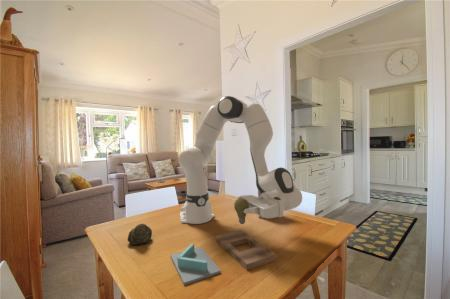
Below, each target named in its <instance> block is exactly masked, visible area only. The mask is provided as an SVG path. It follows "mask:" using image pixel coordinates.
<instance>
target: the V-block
mask: <svg viewBox="0 0 450 299" xmlns="http://www.w3.org/2000/svg"><path fill="white" fill-rule="evenodd" d="M202 247H203V246H198V247H195V243H190V244H189V245H188V246H187V247H186V248H185V249H184V250H183V251H180V252H176V253H175V252H174V253H172V254H169V255H170V256H169V257H170V259H171V261H172V263H173V265H174V267H175V269H176V272H177V274H178V276H179V278H180V279H181V281H182V284H183V286H186V285H189V284H190V285H191V284H192V283H195V282H198V281H201V280H203V279H207V278H210V277H213V276H215V275H218V274H221V273H222V271H221V269H220V268H219V266H218V265H217V264H216V263H215V262H214V261H213V259H212V258H211V257H210V256H209V255H208V253H207V251H205V249H204V248H202Z"/></svg>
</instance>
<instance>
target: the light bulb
mask: <svg viewBox="0 0 450 299" xmlns="http://www.w3.org/2000/svg"><path fill="white" fill-rule="evenodd" d="M233 207H234V210H235V212H236V214H237V217H238V223H239V224H241V225H244V224H245V223H246V216H247V214H245V213H244V212H243V209H244V208H249V203H248V201H247V200H246V199H244V198H239V199H238V198H237V199H236V200H235V202H234V205H233Z"/></svg>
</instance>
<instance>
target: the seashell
mask: <svg viewBox="0 0 450 299" xmlns="http://www.w3.org/2000/svg"><path fill="white" fill-rule="evenodd" d="M152 236H153V230H152V229H151V227H150V226H147V224H144V223H139V224H137V225H136V226H135V227H134V228H132V229H131V230H130V231H129V232H128V236H127V242H128V243H129V244H130V245H142V244H147V243H149V242H150V241H151V238H152Z"/></svg>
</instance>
